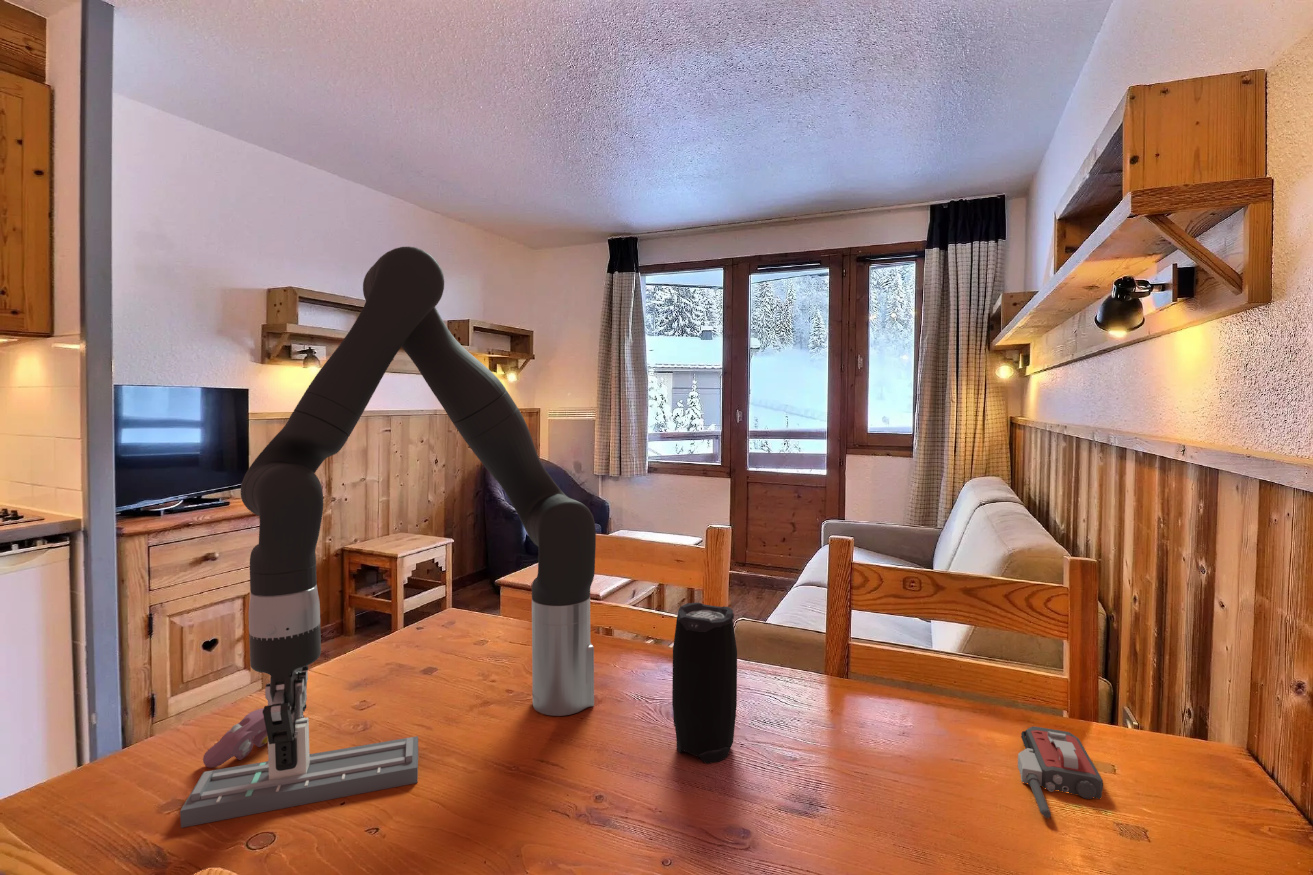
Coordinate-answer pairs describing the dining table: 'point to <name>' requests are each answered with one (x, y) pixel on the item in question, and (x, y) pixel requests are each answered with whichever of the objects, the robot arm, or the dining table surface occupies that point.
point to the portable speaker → (704, 681)
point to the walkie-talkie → (1057, 765)
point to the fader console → (301, 781)
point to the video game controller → (238, 740)
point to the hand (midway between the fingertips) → (289, 760)
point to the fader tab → (302, 754)
